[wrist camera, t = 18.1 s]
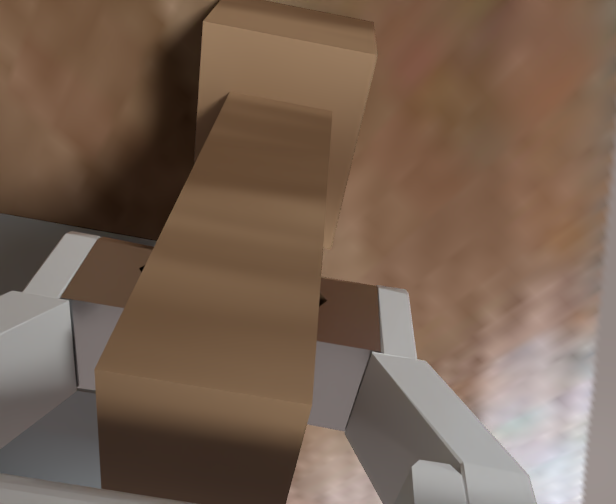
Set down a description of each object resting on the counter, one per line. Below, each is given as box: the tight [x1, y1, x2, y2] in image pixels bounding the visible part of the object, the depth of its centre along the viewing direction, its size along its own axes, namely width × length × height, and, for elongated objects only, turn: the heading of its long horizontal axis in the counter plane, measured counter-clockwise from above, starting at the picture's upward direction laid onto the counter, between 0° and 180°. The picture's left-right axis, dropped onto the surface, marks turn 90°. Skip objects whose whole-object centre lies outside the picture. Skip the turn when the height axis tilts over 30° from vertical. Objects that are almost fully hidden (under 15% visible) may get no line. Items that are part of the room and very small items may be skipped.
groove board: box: [0, 213, 157, 489], centre depth 21 cm, size 12×12×6 cm
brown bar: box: [94, 0, 378, 504], centre depth 12 cm, size 6×4×12 cm
